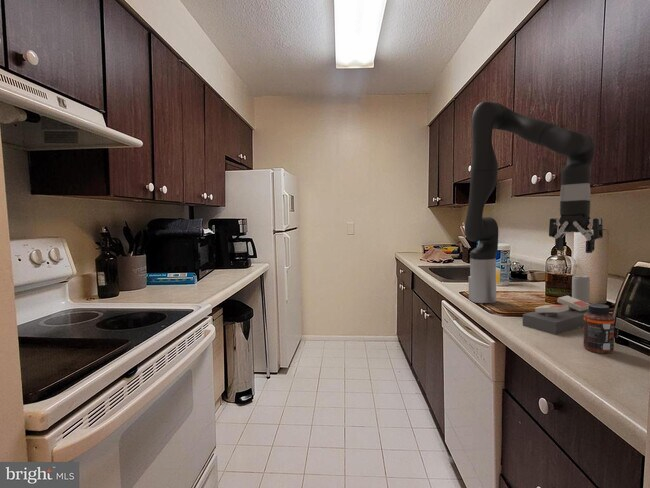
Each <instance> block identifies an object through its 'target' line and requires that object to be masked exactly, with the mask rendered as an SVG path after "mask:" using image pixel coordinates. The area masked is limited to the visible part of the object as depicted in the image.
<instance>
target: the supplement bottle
mask: <svg viewBox="0 0 650 488" xmlns="http://www.w3.org/2000/svg"><path fill="white" fill-rule="evenodd" d="M588 309H589V312H586V313H585V314H584V326H583V347H584V349H586V350H588V351H589V352H593V353H596V354H605V355H607V354H611V353H613V352H614V349H615V317H614V316H613V315H612V314H611V313H610V306H609V305H606V304H604V303H603V304H601V303H589V308H588Z"/></svg>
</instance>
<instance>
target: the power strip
mask: <svg viewBox="0 0 650 488" xmlns="http://www.w3.org/2000/svg"><path fill="white" fill-rule="evenodd" d="M561 305H564V304H561ZM586 312H589V309H587V310H583V311H578V310H576V309H573V308H571V307H569V310H566V311H562V312H535V310H534V311H531V312H530V311H529V312H526V313H523V314H522V326H524V327H528V328H531V329H534V330H535V329H536V330H537V331H541V332H545V333H548V334H551V335H555V336H556V335H560V334H563V333H567V332H569V331H572V330H573V331H574V330H576V329H579V328H584V314H585V313H586Z"/></svg>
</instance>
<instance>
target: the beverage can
mask: <svg viewBox="0 0 650 488" xmlns="http://www.w3.org/2000/svg"><path fill="white" fill-rule="evenodd" d="M590 281H591V280H590V276H589V275H587V274H586V275H585V274H573V275H572V277H571V297H573V298H575V299H578V300H580V301H583V302H585V303H588V304H590V297H591V295H590V285H591V283H590Z"/></svg>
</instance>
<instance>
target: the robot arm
mask: <svg viewBox="0 0 650 488" xmlns="http://www.w3.org/2000/svg"><path fill="white" fill-rule="evenodd" d="M471 129H472V131H471V133H472V150H471V151H472V152H471V168H470V177H469V178H470V182H469V184H470V185H469V195H468V205H467V210H466V211H467V212H466V216H465V217H466V218H465V223H464V234H465V237H466V239H467V240H468V241H469V242H473V243H474V242H478V245H477V246H476V247H475V248H473V249H472V250H471V251H470V252H469V271H470V272H469V273H470V274H469V275H470V276H468V300H469V301H471V302H472V303H476V304H477V303H478V304H483V303H490V304H494V303H497V262H496V261H497V259H496V257H497V253H498V251H499V250H498V248H499V226H498V223H497V220H496V219H495V218H494V217H491V216H488V217H487V216H484V217H483V215H484V214H483V213H484V208H485V205H486V204H487V203H486V202H487V201H488V199H489V197H490V196H491V194H492V193H493V192H494V190H495V187H496V185H497V182H498V181H497V180H498V173H499V172H498V169H499V164H498V160H497V159H498V158H497V156H496V152H495V150H494V146H493V130H501V131H506V132H509V133H513V134H515V135H517V136H518V137H520V138H522V139H523V140H525V141H527V142H530V143H533V144H535V145H538V146H540V147H545V148H547V149H549V150H551V151H553V152H555V153H557V154H560V155H563V156H565V157H567V160H566V165H565V166H564V167H563V168H562V170H561V183H560V185H561V186H560V192H559V196H560V197H559V215H560V218H558V217H555V218H554V217H553V218H550V219H549V224H548V226H549V227H548V236H549V237H550V238H554V241H555V242H554V243H555V244H554V247H555V249H556V251H563V250H564V236H565V235H567V234H568V233H580V234H581V235H583V236H584V238H585V239H586V240H585V253H586V254H592V253H593V252H594V250H595V243H596V240H599V239H603V237H604V235H603V233H604V231H603V230H604V229H603V227H604V226H603V218H601V217H596V218H591V217H590V215H591V197H592V195H591V184H590V183H591V181H590V179H591V177H590V176H591V170H590V168H591V166H592V161H593V157H594V154H595V153H594V152H595V141H594V139H593V137H592V136H591V135H590V134H587V133H583V132H578V131H574V130H571V129H565V128H562V127H561V126H559V125H556V124H555V123H550V122H547V121H545V120H540V119H538V118H533V117H529V116H526V115H523V114H520V113H518V112H515V111H513V110H512V109H510V108H509V107H507V106H506V105H503V104H502V103H499V102H494V101H482V102H479V103H478V104H477V105H476V107H475V108H474V110H473V112H472V117H471ZM559 225H561V226H560V228H559ZM590 225H592V229H591V228H590V227H589V226H590ZM558 228H559V229H558Z"/></svg>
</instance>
